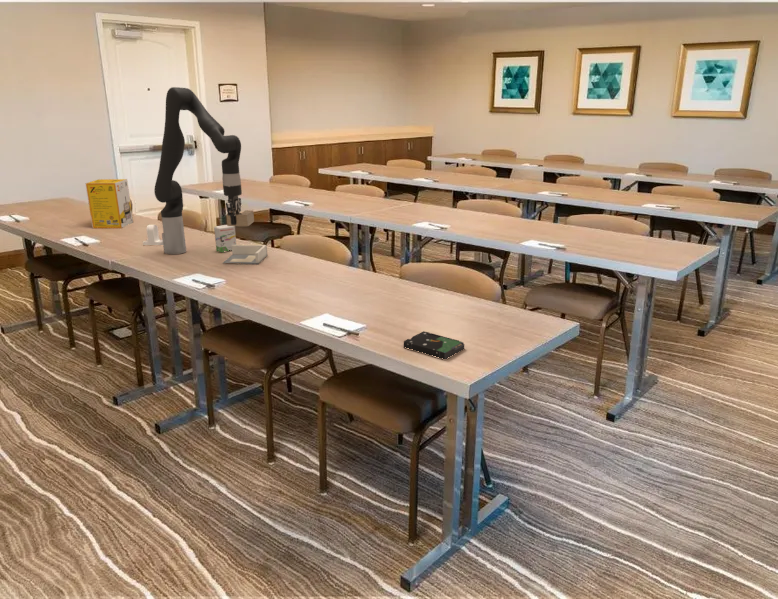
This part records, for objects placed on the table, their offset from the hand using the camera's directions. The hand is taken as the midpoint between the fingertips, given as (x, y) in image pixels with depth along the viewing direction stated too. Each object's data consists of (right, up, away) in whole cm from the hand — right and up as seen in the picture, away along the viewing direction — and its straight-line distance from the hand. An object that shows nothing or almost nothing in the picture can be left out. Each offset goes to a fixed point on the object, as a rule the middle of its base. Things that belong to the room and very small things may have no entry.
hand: (235, 223), depth 270 cm
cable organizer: (-50, -6, +39) cm, 63 cm away
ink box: (-10, -10, +25) cm, 29 cm away
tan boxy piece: (+2, 0, +3) cm, 3 cm away
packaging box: (-90, +9, +84) cm, 124 cm away
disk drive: (+80, -48, -89) cm, 129 cm away
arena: (+2, -15, +9) cm, 18 cm away
